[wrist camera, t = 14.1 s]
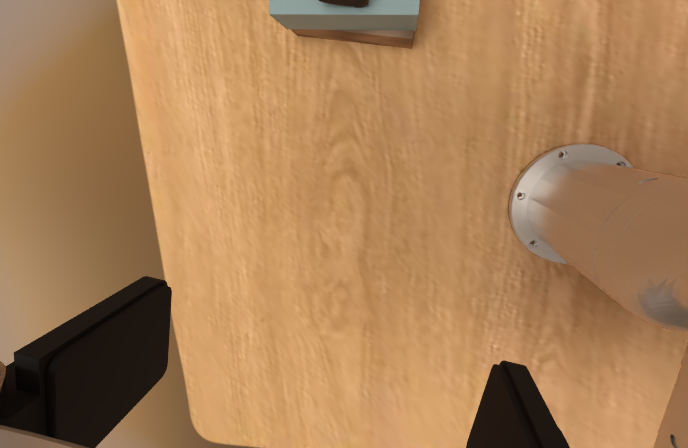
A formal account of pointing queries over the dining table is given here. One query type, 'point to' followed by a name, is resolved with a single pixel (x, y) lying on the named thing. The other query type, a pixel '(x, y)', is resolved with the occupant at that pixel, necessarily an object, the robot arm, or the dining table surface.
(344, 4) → the brick
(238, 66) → the dining table surface
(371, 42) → the tower base
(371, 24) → the tower top
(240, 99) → the dining table surface
